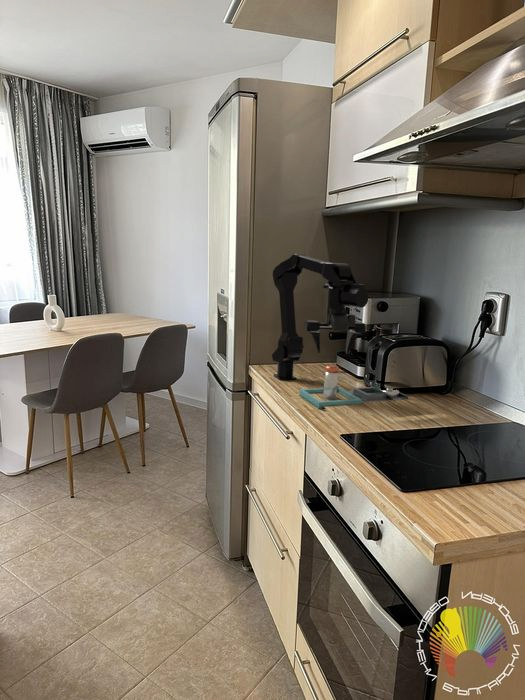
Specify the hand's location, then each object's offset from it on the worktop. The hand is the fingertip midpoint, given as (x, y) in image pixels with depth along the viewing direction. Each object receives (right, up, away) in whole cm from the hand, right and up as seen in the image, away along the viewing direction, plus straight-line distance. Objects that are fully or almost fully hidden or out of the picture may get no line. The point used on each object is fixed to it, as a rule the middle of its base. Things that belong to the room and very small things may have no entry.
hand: (332, 353), depth 157 cm
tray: (-2, -14, -6) cm, 16 cm away
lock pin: (-2, -14, -6) cm, 15 cm away
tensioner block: (+13, -14, -1) cm, 19 cm away
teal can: (+20, -11, +17) cm, 28 cm away
